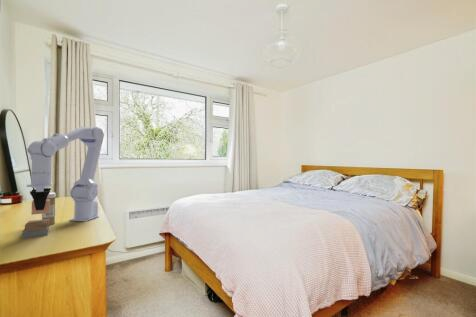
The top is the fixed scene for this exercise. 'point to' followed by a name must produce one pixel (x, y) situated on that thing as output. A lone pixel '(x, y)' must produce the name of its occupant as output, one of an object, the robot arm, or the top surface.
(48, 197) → the sprinkles bottle
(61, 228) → the top surface
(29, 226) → the tower top
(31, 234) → the tower base
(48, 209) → the block
